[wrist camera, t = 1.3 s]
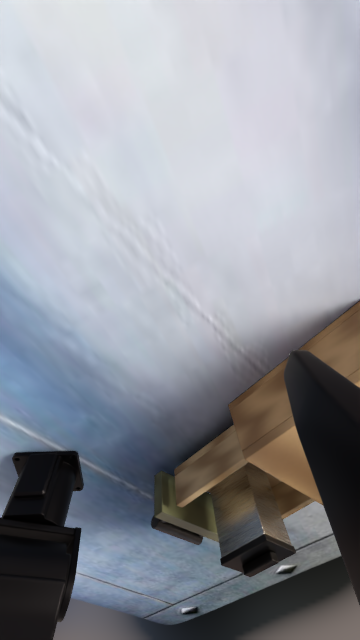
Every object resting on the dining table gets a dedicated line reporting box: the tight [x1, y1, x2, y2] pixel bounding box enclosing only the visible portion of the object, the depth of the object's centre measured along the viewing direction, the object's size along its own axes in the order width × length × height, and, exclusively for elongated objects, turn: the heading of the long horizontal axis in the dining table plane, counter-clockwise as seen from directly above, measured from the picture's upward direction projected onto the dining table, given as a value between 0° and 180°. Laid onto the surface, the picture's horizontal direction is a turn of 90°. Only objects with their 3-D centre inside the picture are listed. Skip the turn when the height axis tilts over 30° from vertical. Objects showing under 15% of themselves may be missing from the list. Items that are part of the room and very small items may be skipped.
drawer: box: [151, 425, 315, 545], centre depth 31 cm, size 19×13×4 cm
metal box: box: [210, 462, 296, 577], centre depth 28 cm, size 5×4×8 cm
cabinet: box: [228, 301, 360, 506], centre depth 26 cm, size 16×14×6 cm
